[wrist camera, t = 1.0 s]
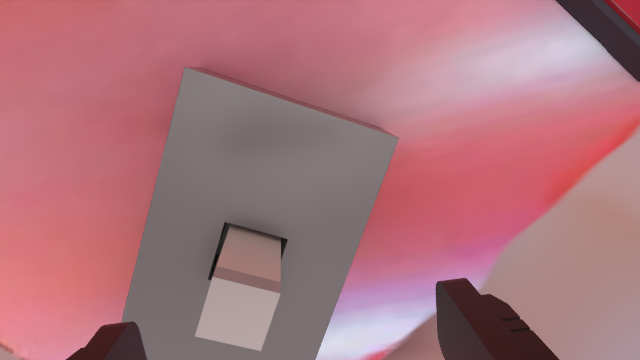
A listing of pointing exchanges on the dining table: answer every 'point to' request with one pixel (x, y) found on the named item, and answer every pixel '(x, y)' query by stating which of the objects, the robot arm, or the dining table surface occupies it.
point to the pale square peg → (243, 289)
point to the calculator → (612, 27)
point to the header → (253, 213)
